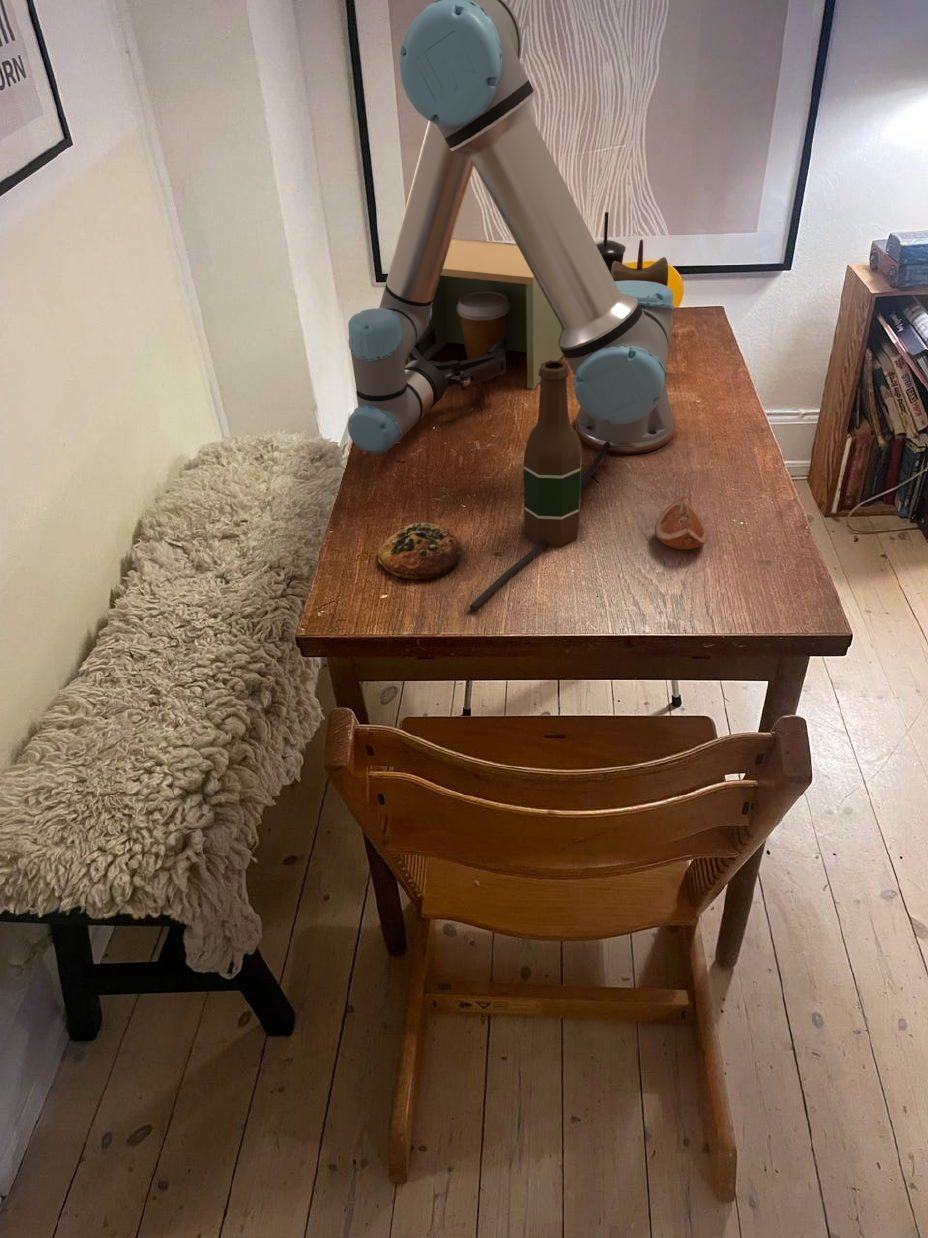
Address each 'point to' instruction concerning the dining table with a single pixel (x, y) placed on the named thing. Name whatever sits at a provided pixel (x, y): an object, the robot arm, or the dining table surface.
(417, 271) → the robot arm
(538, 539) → the beer bottle
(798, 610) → the dining table surface
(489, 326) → the disposable coffee cup
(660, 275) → the kendama
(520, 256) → the cabinet
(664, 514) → the fruit slice
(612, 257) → the drinking cup
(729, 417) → the dining table surface
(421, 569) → the bread roll
